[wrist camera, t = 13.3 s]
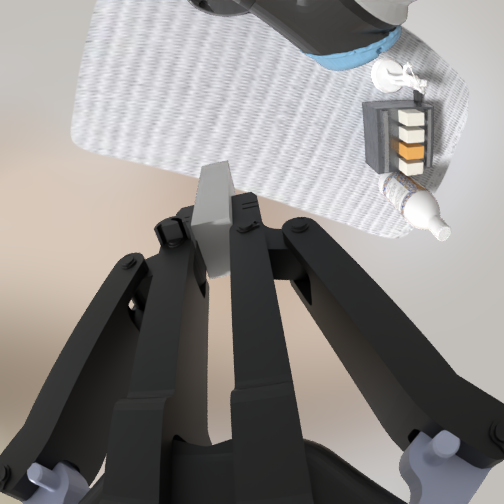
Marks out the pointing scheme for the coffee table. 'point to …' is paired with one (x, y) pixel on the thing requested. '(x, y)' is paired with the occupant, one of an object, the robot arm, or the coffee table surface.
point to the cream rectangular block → (411, 117)
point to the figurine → (395, 76)
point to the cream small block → (410, 166)
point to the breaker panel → (393, 133)
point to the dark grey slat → (417, 95)
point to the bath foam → (414, 203)
